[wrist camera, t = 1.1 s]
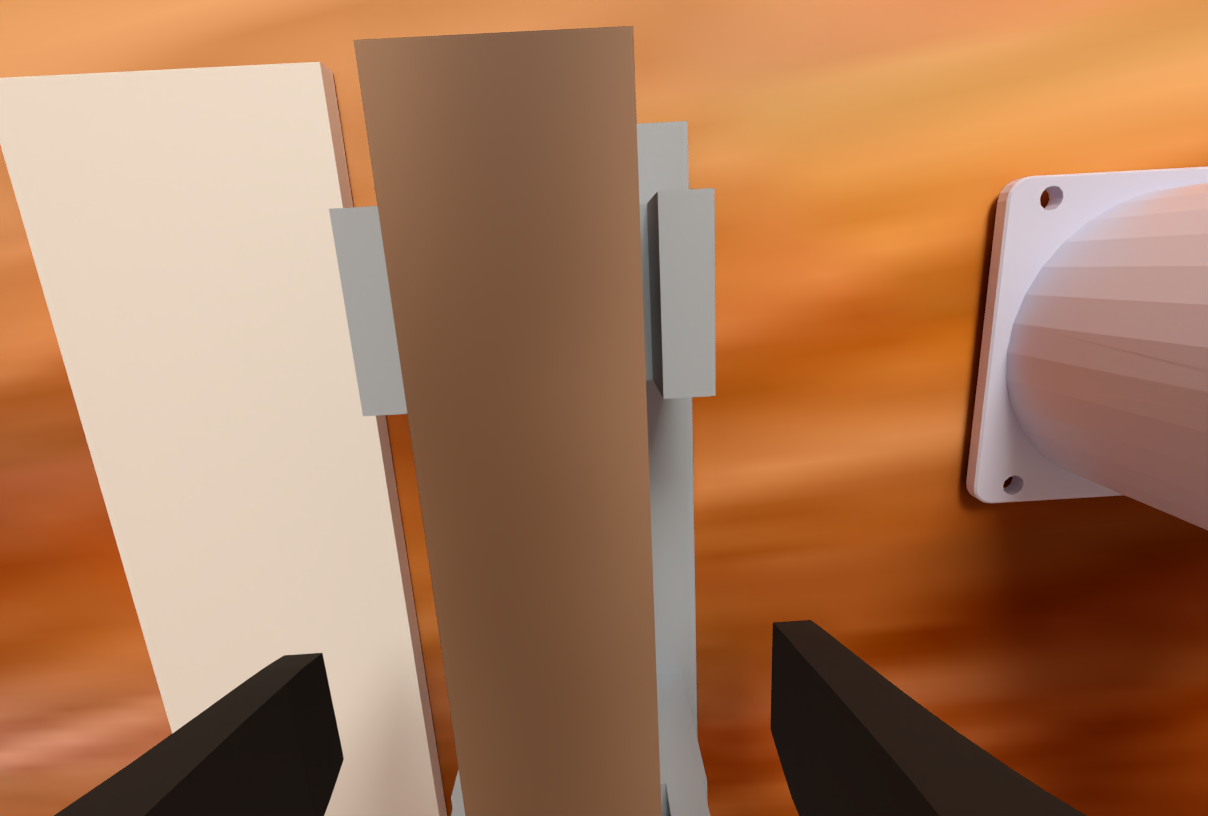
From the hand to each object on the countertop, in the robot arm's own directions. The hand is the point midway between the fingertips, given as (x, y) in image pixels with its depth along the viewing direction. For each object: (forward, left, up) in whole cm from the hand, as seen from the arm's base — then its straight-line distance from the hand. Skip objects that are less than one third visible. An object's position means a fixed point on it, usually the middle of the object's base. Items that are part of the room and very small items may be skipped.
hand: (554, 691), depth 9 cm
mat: (+8, 0, -6) cm, 10 cm away
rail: (0, 0, -2) cm, 2 cm away
